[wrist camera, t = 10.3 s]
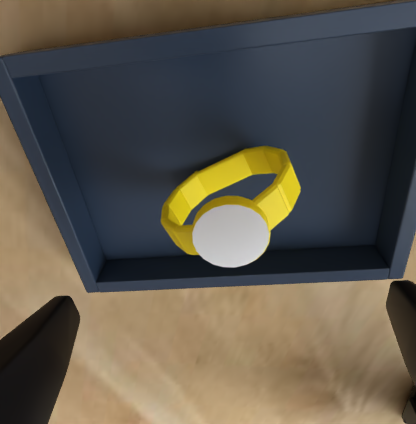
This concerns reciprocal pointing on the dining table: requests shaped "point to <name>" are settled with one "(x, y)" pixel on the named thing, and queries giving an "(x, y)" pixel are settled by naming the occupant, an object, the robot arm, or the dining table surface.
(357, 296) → the dining table surface
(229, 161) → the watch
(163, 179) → the tray
